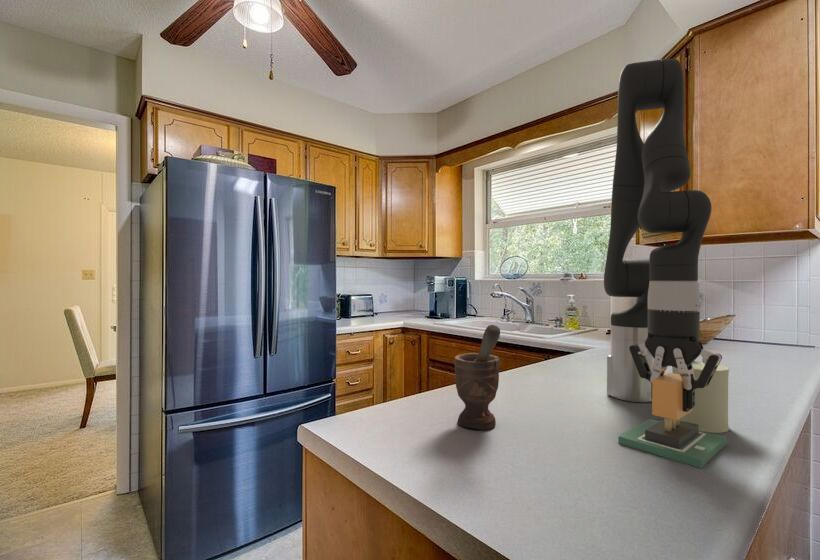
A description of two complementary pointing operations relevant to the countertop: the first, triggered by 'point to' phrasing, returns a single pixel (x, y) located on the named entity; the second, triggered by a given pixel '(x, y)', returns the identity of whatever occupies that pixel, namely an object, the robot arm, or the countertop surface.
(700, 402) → the can
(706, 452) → the header board
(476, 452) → the countertop surface
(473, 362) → the mortar and pestle
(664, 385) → the block
